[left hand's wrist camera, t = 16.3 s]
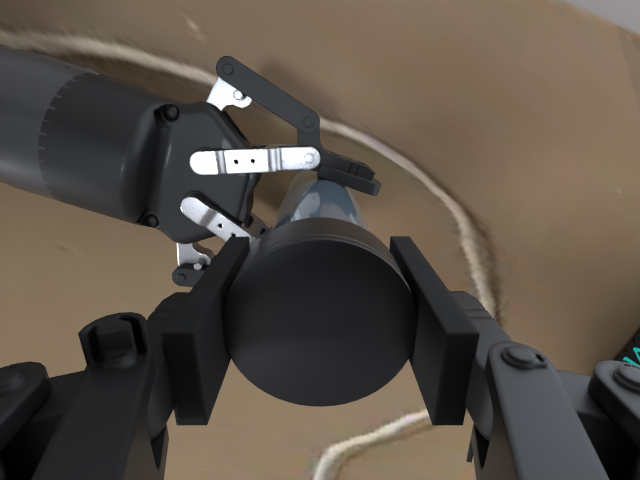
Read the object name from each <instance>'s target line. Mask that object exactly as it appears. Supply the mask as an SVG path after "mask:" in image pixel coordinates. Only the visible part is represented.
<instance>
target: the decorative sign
mask: <svg viewBox="0 0 640 480" xmlns="http://www.w3.org/2000/svg"><path fill="white" fill-rule="evenodd" d="M627 349H628V352H626V351H625V352H622V353H621V354H620V355H619V356H618V358H617V359H616V360H615V361H621V362H627V363H631V364H632V365H633V364H634V365H637V366H640V332H639V333H637V335H636V336H635V342H633V343H630V344H629V345H628V348H627Z"/></svg>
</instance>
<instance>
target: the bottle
mask: <svg viewBox="0 0 640 480" xmlns="http://www.w3.org/2000/svg"><path fill="white" fill-rule="evenodd" d="M313 217H329V218H335V219H341V220H344V221H348V222H351V223H354V224H356V225H358V226H360V227H362V228H364V229H366V230H367V231H369V232H370V230H369V228H368V226H367V223H366V221H365V218H364V216H363V214H362V211H361V209H360V207H359V204H358V202H357V200H356V197H355V195H354V193H353V190H352V188H349V187H346V186H343V185H340V184H337V183H335V182H332V181H328V180H325V179H322V178H319V177H317V172H315V171H312V170H309V169H307V170H299V171H298V172H297V173H296V174H295V175H294V177H293V178H292V180H291V183H290V185H289V187H288V190H287V192H286V194H285V197H284V199H283V201H282V204H281V206H280V209H279V211H278V213H277V216H276V218H275V220H274V223H273V225H272V227H271V230H270V232H271V231H272V230H274V229H276V228H278V227H280V226H282V225H284V224H286V223H289V222H292V221H295V220H299V219H304V218H313Z"/></svg>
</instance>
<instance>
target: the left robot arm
mask: <svg viewBox="0 0 640 480" xmlns="http://www.w3.org/2000/svg"><path fill="white" fill-rule="evenodd" d="M249 252H250V242H249V237H230V238H229V239H228V240H227V242H226V243H225V245H224V246H223V247H222V249H221V250H220V251H219V253H218V254H217V256H216V257H215V258H214V260H213V261H212V262H211V264H210V265H209V267H208V268H207V269H206V271H205V272H204V273H203V275H202V276H201V278H200V279H199V280H198V282H197V283H196V284H195V286H194V287H193V289H192V290H191V291H190V292H176V293H174V294H172V295H171V296H169V297H167V298H166V299H164V300H163V301H162V302H161V303H160V304H159V305H158V307H157V308H156V309H155V312H152V314H151V315H150V316H149V317H148V320H146V319H145V317H143V316H142V315H141V314H138V313H133V312H126V313H117V314H112V315H107V316H105V317H102V318H100V319H97V320H95V321H93V322H91V323H90V324H88V325H86V326H85V327H84V328H83V329H82V330H81V331H80V332H79V333H78V334H79V338H80V342H81V345H82V349H83V352H84V356H85V359H86V363H87V366H86V368H85V370H84V371H80V372H75V373H70V374H66V375H61V376H56V377H51V378H49V376H48V373H47V370H46V367H45V366H43V365H42V364H41V363H37V362H24V363H17V364H12V365H9V366H5V367H3V368H0V480H164V473H165V465H166V457H167V449H168V441H169V436H168V430H167V425H166V423H167V421H168V419H169V417H170V415H171V413H172V411H173V409H174V412H175V418H176V423H177V425H207V424H208V421H209V418H210V415H211V413H212V410H213V407H214V404H215V402H216V399H217V396H218V393H219V390H220V388H221V385H222V382H223V379H224V377H225V374H226V371H227V368H228V366H229V363H230V360H231V357H230V355H229V353H228V350H227V348H226V345H225V341H224V334H223V324H222V312H223V307H224V303H225V299H226V297H227V294H228V292H229V289H230V287H231V285H232V284H233V281H234V280H235V278H236V276H237V274H238V272H239V270H240V268H241V266H242V264H243V262H244V260H245V259H246V257H247V255H248V254H249ZM390 252H391V254H392V255H393V257H394V259H395V261H396V263H397V265H398V267H399V269H400V271H401V273H402V275H403V276H404V278H405V280H406V282H407V284H408V286H409V288H410V290H411V292H412V294H413V297H414V300H415V304H416V308H417V314H418V321H417V331H416V340H415V344H414V347H413V350H412V352H411V354H410V356H409V361H410V364H411V366H412V369H413V372H414V375H415V377H416V380H417V383H418V386H419V388H420V391H421V394H422V397H423V400H424V402H425V405H426V408H427V411H428V413H429V416H430V419H431V422H432V424H433V425H463V421H464V416H465V411H466V407H467V409H468V411H469V413H470V416H471V418H472V420H473V422H474V425H473V430H472V435H471V440H470V445H469V450H468V455H467V462H471V463H472V458H473V456H474V464H475V472H476V480H640V366H637V365H634V364H633V365H632V364H631V363H627V362H621V361H614V360H606V361H600V362H599V363H597V364H596V365H595V366H594V369H593V372H592V375H591V376H587V375H582V374H577V373H572V372H567V371H563V370H559V369H555V368H554V366H553V364H552V363H551V361H550V360H549V359H548V358H547V357H546V356H545V355H544V354H542V353H541V352H539V351H538V350H536V349H534V348H532V347H529V346H527V345H524V344H521V343H517V342H513V341H512V340H511V338H510V337H509V336H508V335H507V334H506V333H505V331H504V330H503V329H502V328H501V327H500V325H499V324H498V323H497V322H496V321H495V320H494V318H492V316H491V315H490V314H489V312H488V311H487V310H485V308H484V307H483V305H482V304H481V303H480V302H479V301H478V299H476V298H474V297H473V296H471V295H470V294H468V293H466V292H465V291H449V290H448V289H447V288H446V286H445V285H444V283H443V282H442V281H441V279H440V278H439V277H438V275H437V274H436V272H435V271H434V270H433V268H432V267H431V266H430V264H429V263H428V261H427V260H426V259H425V257H424V256H423V255H422V253H421V252H420V250H419V249H418V248H417V246H416V245H415V244H414V242H413V241H412V239H411V238H410V237H391V238H390Z"/></svg>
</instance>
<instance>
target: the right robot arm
mask: <svg viewBox="0 0 640 480" xmlns="http://www.w3.org/2000/svg"><path fill="white" fill-rule="evenodd" d="M216 71H217V74H218V78H217V80H216V82H215V84H214V86H213V88H212V91H211V93H210V95H209V97H208V99H207V101H206V102H197V103H191V104H187V103H183V102H180V101H177V100H174V99H171V98H169V97H166V96H163V95H160V94H157V93H154V92H151V91H148V90H145V89H142V88H140V87H137V86H134V85H131V84H128V83H125V82H122V81H119V80H116V79H114V78H111V77H108V76H105V75H102V74H98V73H97V72H96V71H94V70H92V69H90V68H87V67H85V66H82V65H79V64H77V65H76V64H74V65H73V64H70V63H67V62H64V61H61V60H58V59H55V58H52V57H49V56H45V55H41V54H36V53H31V52H26V51H21V50H17V49H13V48H9V47H6V46H2V45H0V181H1V182H3V183H5V184H8V185H10V186H13V187H15V188H18V189H21V190H24V191H27V192H31V193H34V194H37V195H41V196H44V197H48V198H51V199H54V200H58V201H61V202H64V203H67V204H70V205H74V206H77V207H80V208H84V209H87V210H90V211H94V212H97V213H100V214H103V215H107V216H110V217H113V218H117V219H120V220H123V221H127V222H130V223H133V224H137V225H142V226H148V227H153V228H156V229H158V230H160V231H162V232H163V233H165V234H166V235H167V236H168V237H169V238H170V239H171V240H173V241H175V242H177V248H178V267H177V268H176V269H175V270H174V272H173V273H172V280H173V281H174V283H176V284H177V285H179V286H187V287H194V286H195V284H196V283H197V282H198V280H199V279H200V278H201V276H202V275H203V273H204V272H205V271H206V269H207V268H208V267H209V265H210V264H211V262H212V261H213V260H214V258H215V257H216V256H215V255H214V253H213V252H212V250H210V249H207V248H204V247H202V246H200V245H199V244H198V242H197V241H200V240H204V239H207V238H210V237H213V236H219V237H220V238H222V239H223V240H224V241H226V242H227V240H228V239H229V238H230V237H249V242H250V251H251V249H252V248H253V247H254V246H255V244H256V243H257V242H258V241H260V240H261V239H262V238H263V237H264V236H265V235H267V234H268V233H269V232H270V229H269V228H268V227H267V226H266V225H265V224H264V222H263V221H262V220H261V219H260V218H258V217H257V216H256V215H254V214H253V213H252V212H251V209H252V206H253V190H254V188H255V186H256V185H257V183H258V182H259V180H260V177H261V173H262V172H275V171H279V170H307V169H309V170H312V171H315V172H317V177H319V178H322V179H325V180H328V181H332V182H335V183H337V184H340V185H343V186H346V187H349V188H352V189H355V190H358V191H361V192H364V193H367V194H370V195H373V196H377V194H378V192H379V189H380V187H381V183H380V182H379V181H378V180H376V179H374V178H373V177H374V175H375V173H374V171H373V170H372V169H371V168H369V167H368V166H367V165H366V164H365V163H362V162H359V161H356V160H353V159H350V158H347V157H344V156H342V155H339V154H336V153H333V152H330V151H327V150H326V149H324V148H323V146H322V145H321V143H320V128H319V125H320V119H319V116H318V114H317V113H316V112H314V111H313V110H311V109H310V108H308V107H307V106H305V105H304V104H302V103H301V102H299V101H298V100H296V99H295V98H293V97H292V96H290V95H289V94H287V93H286V92H284V91H283V90H281V89H280V88H278V87H277V86H275V85H274V84H272V83H271V82H269V81H268V80H266V79H265V78H263V77H262V76H260V75H259V74H257V73H256V72H254V71H253V70H251V69H250V68H248V67H247V66H245V65H244V64H242V63H240V62H239V61H237V60H236V59H234V58H233V57H230V56H224V57H222V58H220V59H219V61H218V62H217V65H216ZM254 101H255V102H257V103H258V104H260V105H262V106H263V107H265V108H266V109H268V110H269V111H271V112H272V113H274V114H275V115H277V116H278V117H280V118H282V119H283V120H285V121H286V122H288V123H289V124H291V125H292V126H294V127H295V128H297V129H298V144H258V145H251V144H250V143H249V141H248V140H247V139H246V137H245V136H244V135H243V133H242V132H241V131H240V129H239V128H238V127H237V125H236V124H235V123H234V121H233V120H232V119H231V117H230V116H229V115H228V113H227V112H226V109H227V108H228V107H230V106H232V105H235V106H237V107H241V108H248V107H250V106H251V105H252V104H253V103H254Z"/></svg>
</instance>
